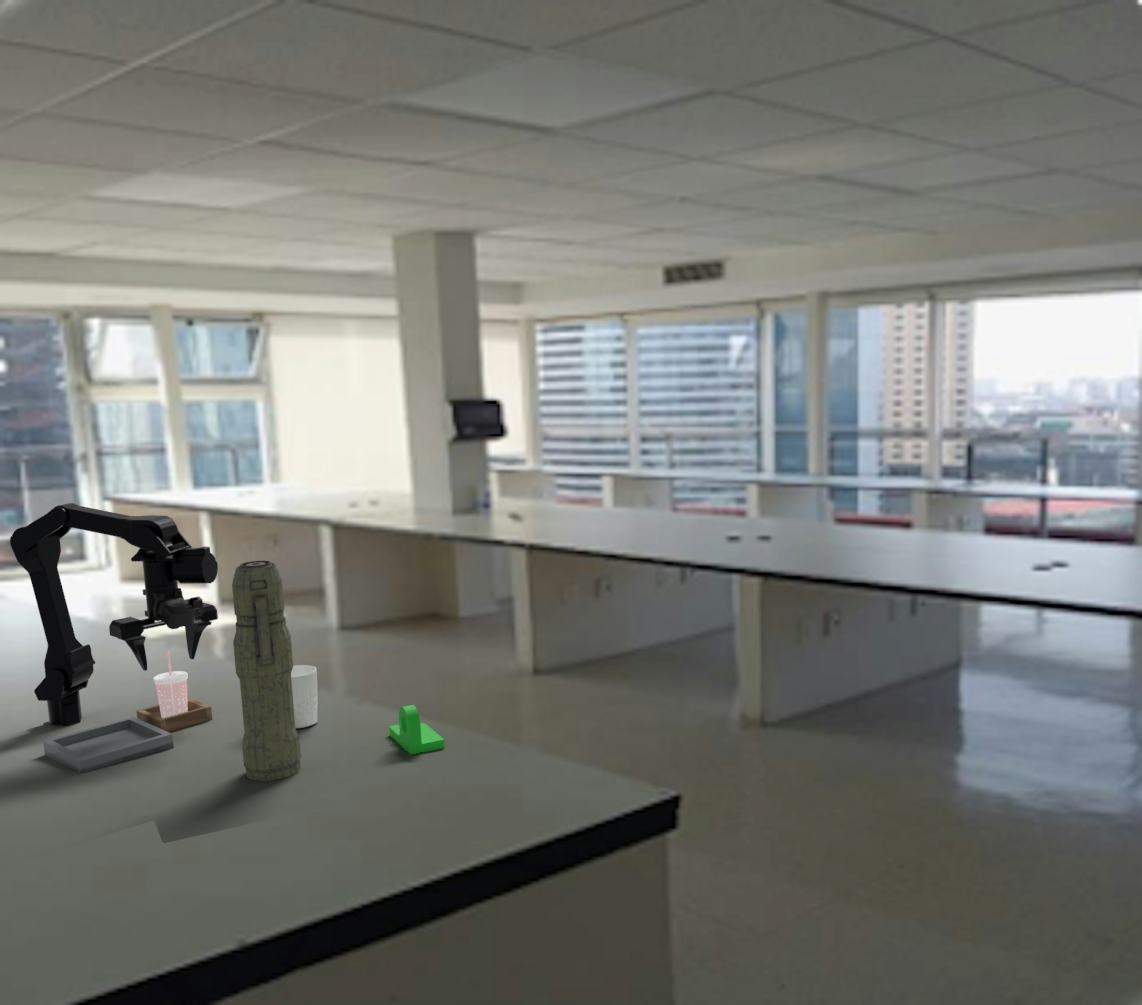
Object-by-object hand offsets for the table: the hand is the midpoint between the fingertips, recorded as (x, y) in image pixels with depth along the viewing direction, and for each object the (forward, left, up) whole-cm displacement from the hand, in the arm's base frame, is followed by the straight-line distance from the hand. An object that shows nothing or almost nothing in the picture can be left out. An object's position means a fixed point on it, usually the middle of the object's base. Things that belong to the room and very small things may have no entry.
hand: (168, 664), depth 197 cm
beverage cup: (0, 0, -11) cm, 11 cm away
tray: (+6, -15, -11) cm, 20 cm away
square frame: (0, 0, -11) cm, 11 cm away
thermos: (+41, -3, -11) cm, 43 cm away
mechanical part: (+48, +21, -12) cm, 53 cm away
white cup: (+21, +14, -11) cm, 28 cm away
